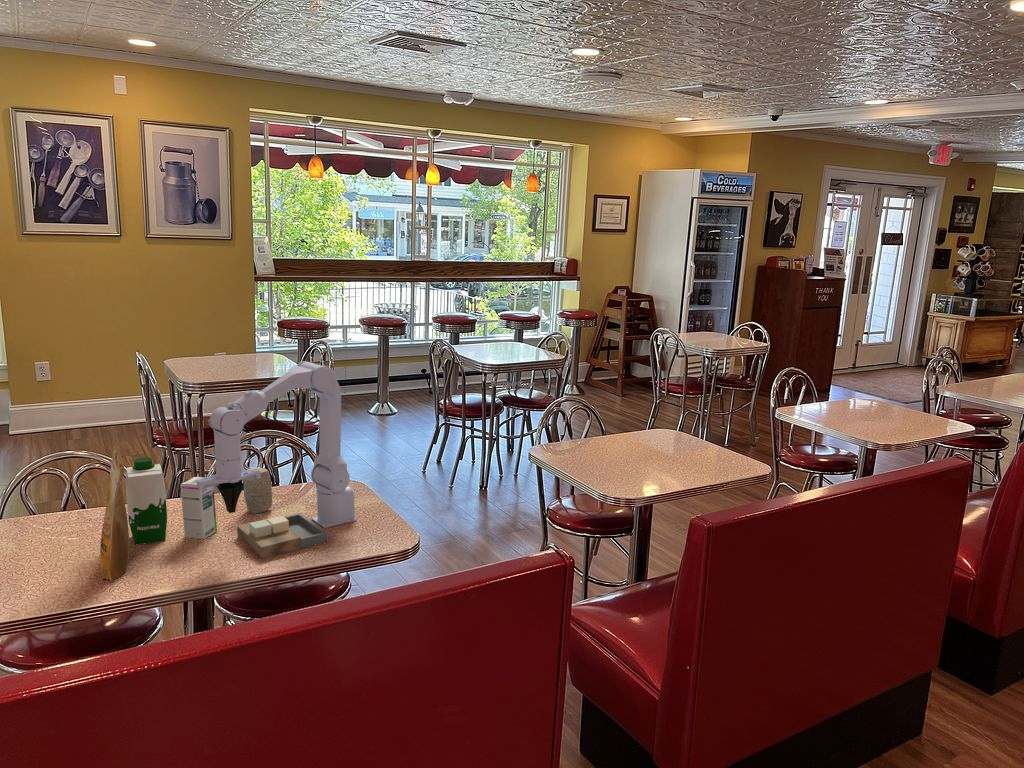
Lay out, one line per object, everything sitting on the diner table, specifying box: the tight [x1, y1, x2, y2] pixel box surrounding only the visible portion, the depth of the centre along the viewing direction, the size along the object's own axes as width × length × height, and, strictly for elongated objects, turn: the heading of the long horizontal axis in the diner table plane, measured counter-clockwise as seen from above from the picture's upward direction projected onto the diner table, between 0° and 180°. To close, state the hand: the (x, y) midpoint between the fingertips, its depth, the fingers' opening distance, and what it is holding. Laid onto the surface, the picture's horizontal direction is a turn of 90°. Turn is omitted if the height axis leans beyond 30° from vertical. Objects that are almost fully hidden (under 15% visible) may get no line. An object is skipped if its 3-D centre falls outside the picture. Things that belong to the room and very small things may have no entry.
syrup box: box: [180, 476, 218, 540], centre depth 196 cm, size 6×6×14 cm
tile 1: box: [248, 519, 272, 538], centre depth 192 cm, size 4×4×2 cm
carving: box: [243, 467, 274, 514], centre depth 213 cm, size 6×8×12 cm
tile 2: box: [266, 515, 289, 534], centre depth 195 cm, size 4×4×2 cm
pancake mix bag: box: [99, 441, 130, 583], centre depth 176 cm, size 7×19×28 cm, turn 23°
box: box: [284, 512, 328, 549], centre depth 199 cm, size 7×16×2 cm, turn 39°
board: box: [236, 516, 301, 560], centre depth 194 cm, size 10×16×3 cm, turn 39°
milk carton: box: [125, 457, 168, 546], centre depth 193 cm, size 9×9×20 cm
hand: (231, 511), depth 186 cm, fingers closed
